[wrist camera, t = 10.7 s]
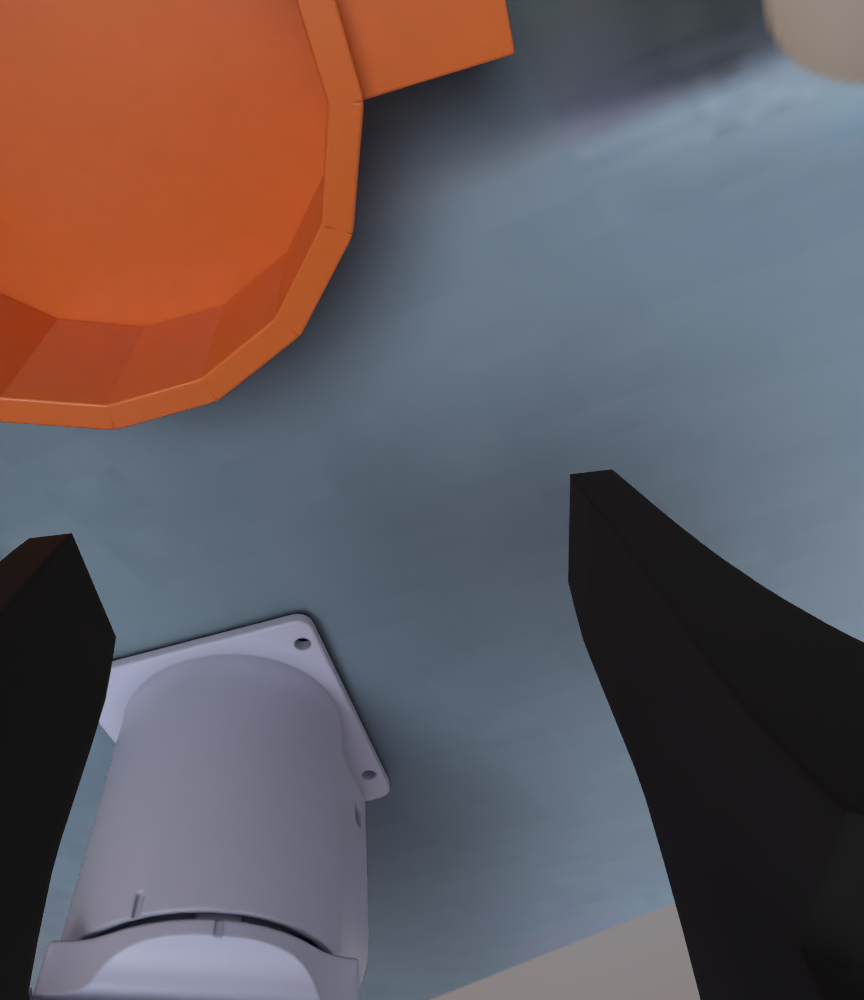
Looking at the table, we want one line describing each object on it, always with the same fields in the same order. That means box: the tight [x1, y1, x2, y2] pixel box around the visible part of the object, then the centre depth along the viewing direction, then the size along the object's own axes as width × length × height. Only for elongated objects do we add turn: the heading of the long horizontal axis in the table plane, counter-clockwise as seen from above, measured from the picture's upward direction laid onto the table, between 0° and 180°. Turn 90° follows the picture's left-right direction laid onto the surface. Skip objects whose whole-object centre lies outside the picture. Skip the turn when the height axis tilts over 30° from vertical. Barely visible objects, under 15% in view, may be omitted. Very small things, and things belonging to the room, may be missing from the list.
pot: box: [0, 0, 515, 430], centre depth 15 cm, size 11×17×4 cm
